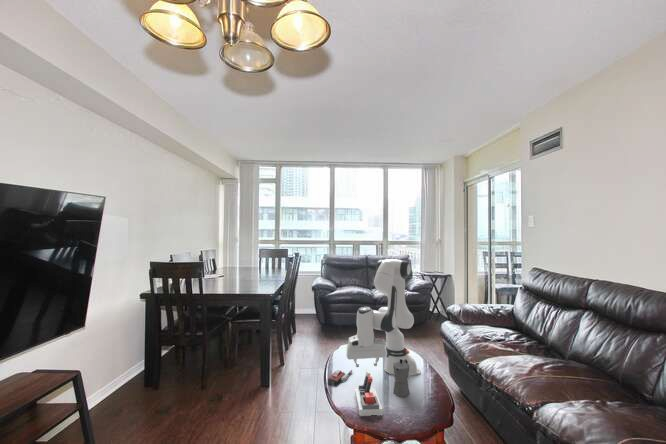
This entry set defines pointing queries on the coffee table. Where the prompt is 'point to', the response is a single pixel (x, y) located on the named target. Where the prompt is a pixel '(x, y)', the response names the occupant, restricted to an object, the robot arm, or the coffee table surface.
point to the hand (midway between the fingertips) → (366, 366)
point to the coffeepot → (401, 378)
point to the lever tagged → (368, 385)
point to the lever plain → (366, 379)
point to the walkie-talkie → (338, 377)
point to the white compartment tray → (367, 408)
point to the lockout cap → (369, 398)
